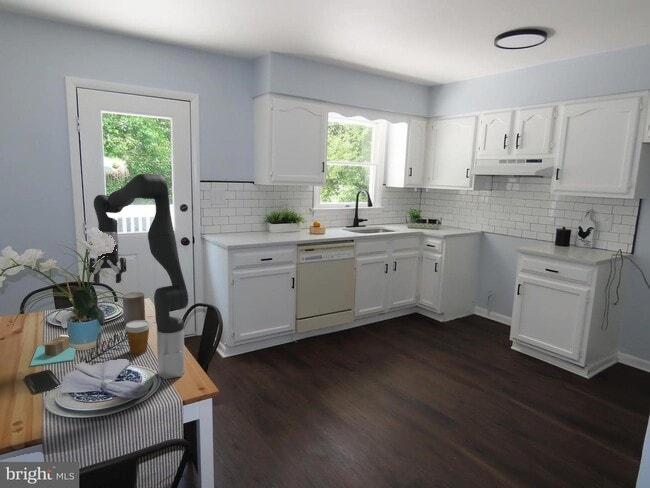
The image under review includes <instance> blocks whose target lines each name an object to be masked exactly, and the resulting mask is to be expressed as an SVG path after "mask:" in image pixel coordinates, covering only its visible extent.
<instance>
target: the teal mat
mask: <svg viewBox="0 0 650 488" xmlns="http://www.w3.org/2000/svg"><path fill="white" fill-rule="evenodd" d="M76 350H77V348H76V349H74V348H71V347H70V348H68V349H66V350H65V351H63V352H62V353H60V354H59V355H57V356H47V355H45V346H44V345H41V346H37V347H36V349H35V352H34V354H33V357H32V359H31V362H30V363H29V367H30V368H31V367H38V366H44V365H45V366H46V365H53V364H60V363H66V362H73V361H74V360H75V355H76Z"/></svg>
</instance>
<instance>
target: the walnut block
mask: <svg viewBox="0 0 650 488" xmlns="http://www.w3.org/2000/svg"><path fill="white" fill-rule="evenodd" d="M68 335H69V334H60V335H59V336H57V337H55V338H53V339H51V340H49V341H48V342H47V343H45V344H44V345H43V346H45V355H47V356H57V355H59V354H60V353H62V352H63V351H65V350H66V349H68V348H70V343H69V336H68Z"/></svg>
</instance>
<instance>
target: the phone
mask: <svg viewBox="0 0 650 488" xmlns="http://www.w3.org/2000/svg"><path fill="white" fill-rule="evenodd" d="M24 381H26V383H27V384H28V386H29V388H30V390H31V391H32V393H33V394H35V395H36V394H37V395H38V394H40V393H41V394H42V393H44V392H48V391H51V390H55V389H56V388H55V387H57V386H58V385H60V384H61V381H60V380H59V379H58V378H57V377H56V375H55V374H54V373H53V371H52V370H51V369H44V370H42V371H37V372H33V373H30V374H26V375H25V376H24ZM61 385H62V384H61ZM54 388H55V389H54Z"/></svg>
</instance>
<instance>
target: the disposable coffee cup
mask: <svg viewBox="0 0 650 488" xmlns="http://www.w3.org/2000/svg"><path fill="white" fill-rule="evenodd" d="M150 328H151V324H150V321H148V320H146V319H145V320H136V321H131V322H129V323H127V324H125V327H124V330H125V332H126V336H127V341H128V348H129V353H130V354H131V355H136V356H137V355H142V354H145V353H146V352H147V351H148V345H149V344H148V343H149V335H150Z"/></svg>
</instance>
